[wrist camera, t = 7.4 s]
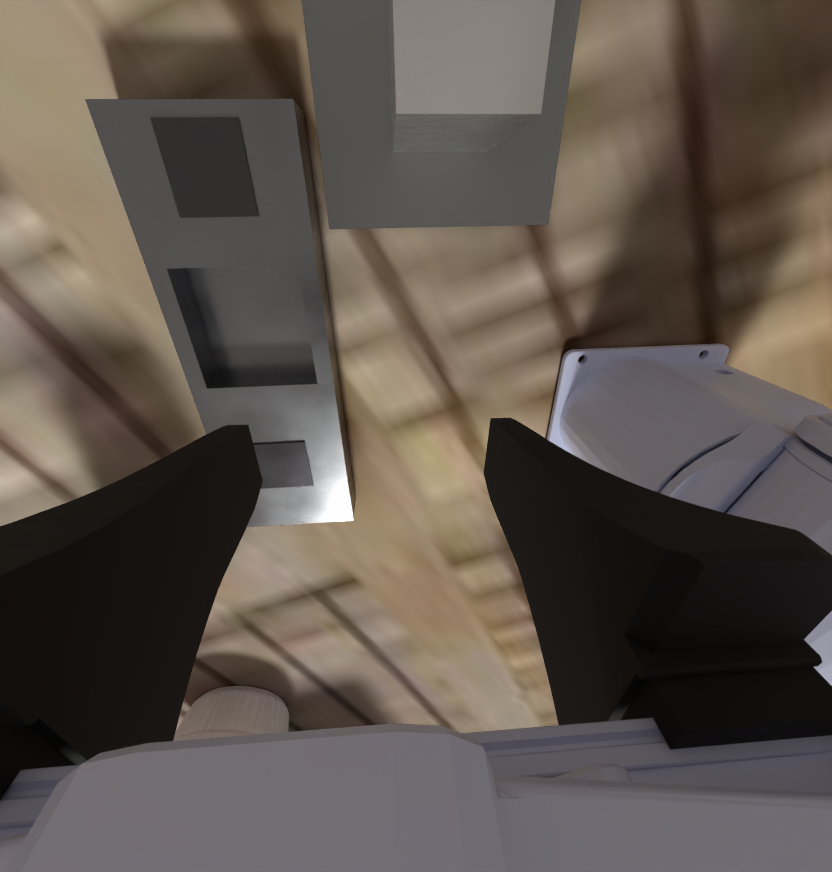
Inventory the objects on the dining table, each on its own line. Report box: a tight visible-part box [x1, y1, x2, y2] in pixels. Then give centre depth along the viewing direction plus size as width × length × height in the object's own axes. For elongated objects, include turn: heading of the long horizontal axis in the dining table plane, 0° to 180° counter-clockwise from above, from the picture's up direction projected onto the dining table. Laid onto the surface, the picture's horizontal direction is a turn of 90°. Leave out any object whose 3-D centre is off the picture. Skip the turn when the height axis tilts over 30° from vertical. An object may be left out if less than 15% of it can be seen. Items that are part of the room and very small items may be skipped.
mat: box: [302, 0, 581, 229], centre depth 14 cm, size 10×10×1 cm
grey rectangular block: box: [388, 0, 555, 152], centre depth 11 cm, size 4×4×6 cm
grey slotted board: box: [85, 99, 356, 527], centre depth 18 cm, size 7×20×2 cm, turn 1°
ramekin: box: [173, 686, 289, 741], centre depth 35 cm, size 11×11×5 cm
